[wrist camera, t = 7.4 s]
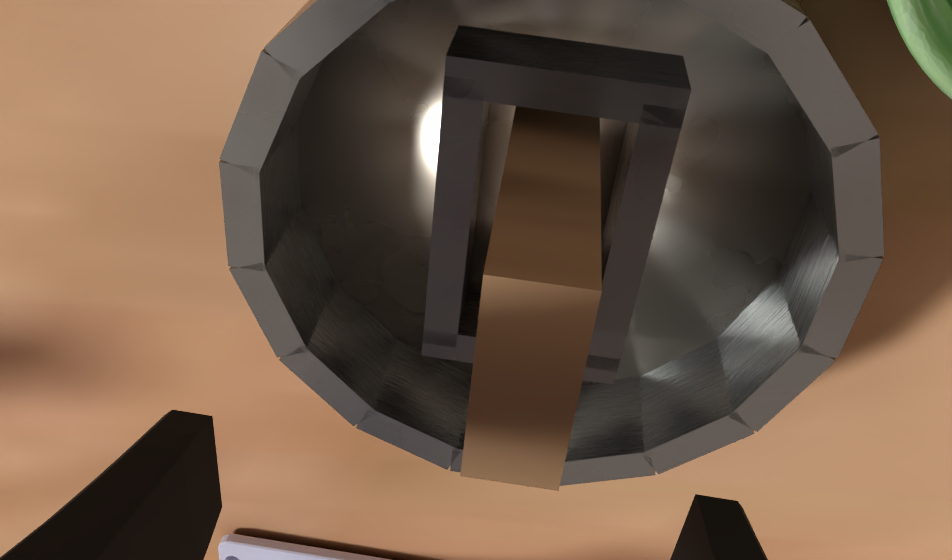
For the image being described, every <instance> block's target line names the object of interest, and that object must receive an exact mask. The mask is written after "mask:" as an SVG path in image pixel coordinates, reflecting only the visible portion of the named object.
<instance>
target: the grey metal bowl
mask: <svg viewBox="0 0 952 560" xmlns="http://www.w3.org/2000/svg"><path fill="white" fill-rule="evenodd" d="M516 106H520V107H527V108H534V109H541V110H548V111H555V112H562V113H569V114H576V115H583V116H590V117H597V118H600V177H601V262H602V293H601V297H600V302H599V307H598V311H597V316H596V320H595V325H594V330H593V334H592V339H591V343H590V348H589V353H588V357H587V362H586V366H585V371H584V376H583V380H582V385H581V389H580V394H579V399H578V403H577V408H576V413H575V417H574V422H573V426H572V431H571V436H570V440H569V445H568V449H567V454H566V459H565V463H564V468H563V472H562V477H561V482H560V486H563V485H572V484H580V483H589V482H598V481H607V480H616V479H625V478H634V477H643V476H651V475H655V471H656V472H657V473H658V474H660V473H663V472H665V471H667V470H670V469H672V468H674V467H677V466H679V465H681V464H684V463H686V462H689V461H691V460H693V459H696V458H698V457H700V456H703V455H705V454H707V453H710V452H712V451H714V450H717V449H719V448H722V447H724V446H726V445H729V444H731V443H733V442H736V441H738V440H740V439H743V438H745V437H747V436H750V435H752V434H754V430H755V431H757V432H758V431H759V430H760V429H761V428H762V427H763V426H764V425H765V424H766V423H768V422H769V421H770V420H771V419H772V418H773V417H774V416H775V415H776V414H777V413H779V412H780V411H781V410H782V409H783V408H784V407H785V406H786V405H787V404H789V403H790V402H791V401H792V400H793V399H794V398H795V397H796V396H797V395H798V394H800V393H801V392H802V391H803V390H804V389H805V388H806V387H807V386H808V385H810V384H811V383H812V382H813V381H814V380H815V379H816V378H817V377H818V376H819V375H821V374H822V373H823V372H824V371H825V370H826V369H827V368H828V367H829V366H831V365H832V364H833V363H834V362H835V358H838V356H839V354H840V352H841V350H842V348H843V346H844V343H845V341H846V339H847V337H848V335H849V333H850V330H851V328H852V326H853V324H854V322H855V320H856V317H857V315H858V313H859V311H860V309H861V307H862V304H863V302H864V300H865V298H866V296H867V294H868V291H869V289H870V287H871V285H872V283H873V281H874V279H875V276H876V274H877V272H878V270H879V268H880V266H881V263H882V261H883V257H882V256H884V236H883V212H882V187H881V162H880V138H879V137H878V133H877V131H876V129H875V128H874V126H873V124H872V123H871V121H870V119H869V118H868V116H867V114H866V113H865V111H864V109H863V108H862V106H861V104H860V103H859V101H858V99H857V98H856V96H855V94H854V93H853V91H852V89H851V88H850V86H849V84H848V83H847V81H846V79H845V78H844V76H843V74H842V73H841V71H840V69H839V68H838V66H837V64H836V63H835V61H834V59H833V58H832V56H831V54H830V52H829V51H828V49H827V47H826V46H825V44H824V42H823V41H822V39H821V37H820V36H819V34H818V32H817V31H816V29H815V27H814V26H813V24H812V22H811V21H810V19H809V18H808V16H807V15H806V13H805V12H804V10H803V9H802V7H801V6H800V4H799V3H798V1H797V0H309V1H308V2H307V3H306V4H305V5H304V6H303V7H302V8H301V9H300V10H299V11H298V13H297V14H296V15H295V16H294V17H293V18H292V19H291V20H290V21H289V22H288V23H287V24H286V25H285V26H284V27H283V28H282V29H281V30H280V31H279V32H278V34H277V35H276V36H275V37H274V38H273V39H272V40H271V41H270V42H269V43H268V44H267V45H266V46H265V47H264V49H263V50H262V51H261V54H260V56H259V59H258V61H257V64H256V66H255V69H254V72H253V74H252V77H251V79H250V82H249V84H248V87H247V90H246V92H245V95H244V97H243V100H242V102H241V105H240V108H239V110H238V113H237V115H236V118H235V120H234V123H233V125H232V128H231V131H230V133H229V136H228V138H227V141H226V143H225V146H224V149H223V151H222V154H221V156H220V159H221V160H220V162H219V166H220V177H221V188H222V200H223V211H224V222H225V234H226V245H227V256H228V266H231V268H230V269H229V270H230V271H231V273H232V275H233V277H234V279H235V281H236V282H237V284H238V286H239V288H240V290H241V292H242V293H243V295H244V297H245V299H246V301H247V303H248V305H249V306H250V308H251V310H252V312H253V314H254V316H255V317H256V319H257V321H258V323H259V325H260V327H261V329H262V330H263V332H264V334H265V336H266V338H267V340H268V341H269V343H270V345H271V347H272V349H273V351H274V352H275V354H276V356H277V357H280V361H281V362H282V363H283V364H284V365H285V366H287V367H288V368H289V369H290V370H291V371H292V372H293V373H294V374H296V375H297V376H298V377H299V378H300V379H301V380H302V381H303V382H305V383H306V384H307V385H308V386H309V387H310V388H311V389H312V390H314V391H315V392H316V393H317V394H318V395H319V396H320V397H321V398H322V399H324V400H325V401H326V402H327V403H328V404H329V405H330V406H331V407H333V408H334V409H335V410H336V411H337V412H338V413H339V414H340V415H342V416H343V417H344V418H345V419H346V420H347V421H348V422H349V423H351V424H352V425H353V426H354V425H356V424H357V427H356V428H357V429H360V430H362V431H364V432H366V433H368V434H371V435H373V436H375V437H377V438H379V439H381V440H384V441H386V442H388V443H390V444H392V445H395V446H397V447H399V448H401V449H403V450H405V451H408V452H410V453H412V454H414V455H416V456H418V457H421V458H423V459H425V460H427V461H429V462H432V463H434V464H436V465H438V466H440V467H442V468H445V469H448V468H449V467H450V465H451V469H450V471H456V472H461V466H462V457H463V448H464V439H465V431H466V422H467V413H468V404H469V395H470V386H471V378H472V369H473V360H474V351H475V342H476V333H477V325H478V316H479V307H480V298H481V289H482V280H483V273H484V268H485V262H486V257H487V252H488V247H489V242H490V237H491V232H492V226H493V221H494V216H495V211H496V206H497V201H498V196H499V190H500V185H501V180H502V175H503V170H504V165H505V160H506V154H507V149H508V144H509V139H510V134H511V129H512V124H513V118H514V113H515V108H516Z"/></svg>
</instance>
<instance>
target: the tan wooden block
mask: <svg viewBox="0 0 952 560" xmlns="http://www.w3.org/2000/svg"><path fill="white" fill-rule="evenodd" d="M601 293H602V262H601V177H600V118H597V117H590V116H583V115H576V114H569V113H562V112H555V111H548V110H541V109H534V108H527V107H520V106H516V108H515V113H514V118H513V124H512V129H511V134H510V139H509V144H508V149H507V154H506V160H505V165H504V170H503V175H502V180H501V185H500V190H499V196H498V201H497V206H496V211H495V216H494V221H493V226H492V232H491V237H490V242H489V247H488V252H487V257H486V262H485V268H484V273H483V280H482V289H481V298H480V307H479V316H478V325H477V333H476V342H475V351H474V360H473V369H472V378H471V386H470V395H469V404H468V413H467V422H466V431H465V439H464V448H463V457H462V466H461V475H460V476H464V477H470V478H477V479H483V480H490V481H497V482H503V483H510V484H517V485H523V486H530V487H537V488H543V489H550V490H557V491H559V486H560V482H561V477H562V472H563V468H564V463H565V459H566V454H567V449H568V445H569V440H570V436H571V431H572V426H573V422H574V417H575V413H576V408H577V403H578V399H579V394H580V389H581V385H582V380H583V376H584V371H585V366H586V362H587V357H588V353H589V348H590V343H591V339H592V334H593V330H594V325H595V320H596V316H597V311H598V307H599V302H600V297H601Z"/></svg>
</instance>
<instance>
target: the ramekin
mask: <svg viewBox="0 0 952 560" xmlns="http://www.w3.org/2000/svg"><path fill="white" fill-rule="evenodd" d="M887 3H888V6H889V8H890V11H891V14H892V16H893V19H894V21H895V24H896V26H897V28H898V31H899V33H900V35H901V37H902V39H903V40H904V42H905V44H906V46H907V48H908V49H909V51H910V53H911V54H912V56H913V57H914V58H915V60H916V61H917V63H918V64H919V66H920V67H921V69H922V70H923V71H924V72H925V73H926V75H927V76H928V77H929V78H930V79H931V81H932V82H933V83H934V84H935V85H936V86H937V87H938V88H939V89H940V90H941V91H942V92H943V93H945V94H946V95H947V96H948V97H949V98H950V99H952V0H887Z"/></svg>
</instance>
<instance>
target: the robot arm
mask: <svg viewBox="0 0 952 560" xmlns="http://www.w3.org/2000/svg"><path fill="white" fill-rule="evenodd" d="M221 508H222V501H221V492H220V483H219V474H218V464H217V455H216V446H215V436H214V427H213V418H212V416H208V415H202V414H196V413H190V412H183V411H177V410H171V411H170V412H168V413H167V414H166V415H164V416H163V417H162V418H161V419H160V420H159V421H158V422H157V423H156V424H155V425H154V426H153V427H152V428H150V429H149V430H148V431H147V432H146V433H145V434H144V435H143V436H142V437H141V438H140V439H139V440H138V441H137V442H135V443H134V444H133V445H132V446H131V447H130V448H129V449H128V450H127V451H126V452H125V453H124V454H122V455H121V456H120V457H119V458H118V459H117V460H116V461H115V462H114V463H113V464H111V465H110V466H109V467H108V468H107V469H106V470H105V471H104V472H103V473H101V474H100V475H99V476H98V477H97V478H96V479H95V480H94V481H92V482H91V483H90V484H89V485H88V486H87V487H85V488H84V489H83V490H82V491H81V492H80V493H78V494H77V495H76V496H75V497H74V498H73V499H72V500H70V501H69V502H68V503H67V504H66V505H65V506H63V507H62V508H61V509H60V510H59V511H58V512H56V513H55V514H54V515H53V516H52V517H50V518H49V519H48V520H47V521H46V522H44V523H43V524H42V525H41V526H40V527H38V528H37V529H36V530H34V531H33V532H32V533H31V534H29V535H28V536H27V537H26V538H24V539H23V540H22V541H21V542H19V543H18V544H17V545H16V546H14V547H13V548H12V549H10V550H9V551H8V552H7V553H5V554H4V555H3V556H2V557H0V560H203V559H204V556H205V554H206V551H207V548H208V546H209V543H210V540H211V537H212V534H213V532H214V529H215V526H216V523H217V520H218V517H219V514H220V511H221ZM218 550H219V558H220V560H391V559H385V558H379V557H373V556H367V555H361V554H355V553H349V552H342V551H336V550H330V549H324V548H318V547H312V546H306V545H300V544H293V543H287V542H281V541H275V540H269V539H263V538H257V537H251V536H245V535H238V534H228V535H225V536H223V537H222V539H221V541H220V544H219V547H218ZM670 560H768V559H767V557H766V555H765V553H764V551H763V549H762V547H761V545H760V543H759V541H758V539H757V537H756V535H755V533H754V531H753V529H752V527H751V525H750V522H749V520H748V518H747V516H746V514H745V512H744V510H743V508H742V506H741V505H740V504H739V502H738V501H734V500H727V499H721V498H715V497H709V496H703V495H697V494H696V495H695V497H694V500H693V502H692V505H691V508H690V510H689V513H688V515H687V518H686V520H685V523H684V526H683V528H682V531H681V533H680V536H679V539H678V541H677V544H676V546H675V549H674V551H673V554H672V557H671V559H670Z"/></svg>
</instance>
